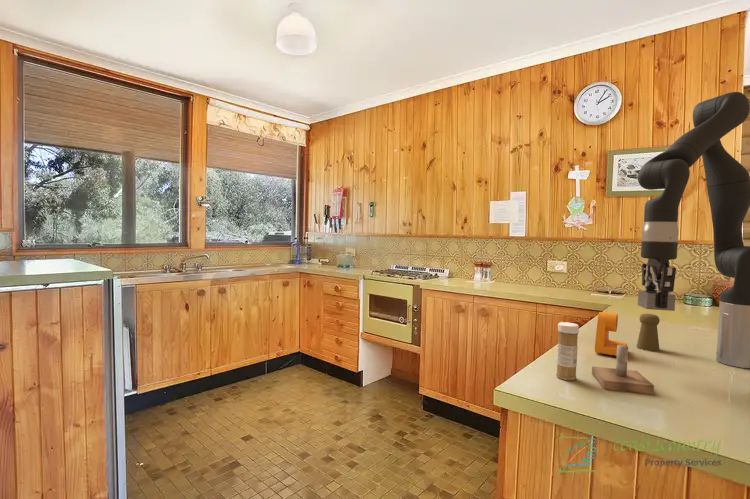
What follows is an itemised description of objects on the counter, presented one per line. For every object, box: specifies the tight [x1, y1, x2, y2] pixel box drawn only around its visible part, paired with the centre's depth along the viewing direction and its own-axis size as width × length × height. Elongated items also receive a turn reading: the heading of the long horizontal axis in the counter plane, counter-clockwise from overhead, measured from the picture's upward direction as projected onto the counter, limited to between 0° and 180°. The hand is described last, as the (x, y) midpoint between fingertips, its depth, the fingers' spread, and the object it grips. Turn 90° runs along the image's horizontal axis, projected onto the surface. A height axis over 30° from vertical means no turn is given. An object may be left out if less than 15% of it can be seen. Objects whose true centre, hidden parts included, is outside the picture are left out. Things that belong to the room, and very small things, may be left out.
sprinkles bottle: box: [555, 321, 580, 381], centre depth 98 cm, size 5×5×14 cm
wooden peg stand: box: [591, 345, 655, 395], centre depth 95 cm, size 10×10×9 cm
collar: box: [637, 289, 676, 312], centre depth 102 cm, size 6×6×4 cm
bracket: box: [594, 311, 628, 357], centre depth 120 cm, size 11×7×12 cm, turn 142°
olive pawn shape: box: [636, 313, 661, 352], centre depth 126 cm, size 6×6×11 cm
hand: (655, 305), depth 102 cm, fingers closed on collar, 6 cm apart
